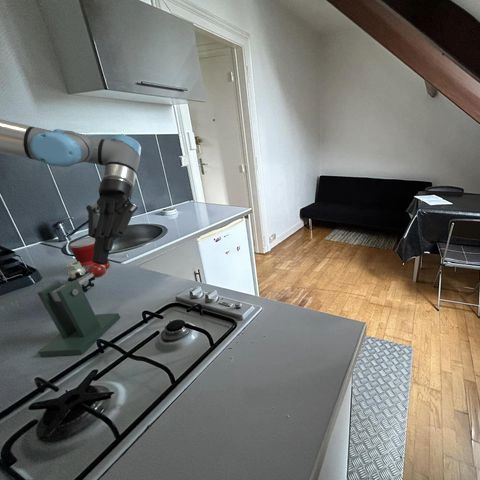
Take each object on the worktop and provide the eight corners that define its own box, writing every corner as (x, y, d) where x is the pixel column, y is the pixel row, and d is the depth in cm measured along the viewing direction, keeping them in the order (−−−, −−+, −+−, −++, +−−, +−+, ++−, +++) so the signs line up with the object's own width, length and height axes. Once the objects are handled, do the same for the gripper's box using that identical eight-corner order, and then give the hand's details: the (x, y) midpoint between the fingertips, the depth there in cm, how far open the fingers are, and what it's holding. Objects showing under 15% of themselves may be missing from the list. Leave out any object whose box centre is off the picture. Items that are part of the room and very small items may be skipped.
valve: (67, 283, 86) (71, 296, 78) (58, 265, 83) (62, 277, 75) (92, 275, 90) (99, 287, 82) (85, 258, 87) (90, 268, 80)
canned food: (114, 266, 95) (102, 239, 91) (87, 277, 89) (74, 247, 85) (105, 262, 99) (94, 235, 95) (79, 271, 93) (65, 243, 89)
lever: (98, 273, 69) (92, 261, 67) (111, 272, 69) (106, 260, 67) (51, 304, 56) (43, 290, 55) (67, 303, 56) (60, 289, 55)
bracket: (85, 319, 67) (62, 273, 62) (120, 317, 67) (99, 271, 62) (40, 357, 56) (7, 304, 51) (82, 354, 56) (53, 301, 51)
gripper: (148, 189, 79) (134, 265, 70) (105, 192, 79) (86, 268, 71) (131, 175, 72) (113, 257, 63) (84, 178, 72) (60, 261, 63)
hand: (99, 263), depth 67 cm, fingers closed
